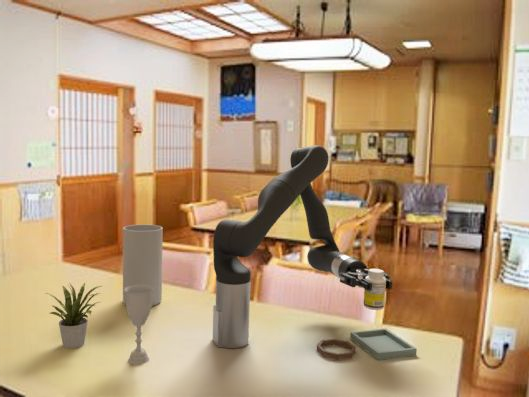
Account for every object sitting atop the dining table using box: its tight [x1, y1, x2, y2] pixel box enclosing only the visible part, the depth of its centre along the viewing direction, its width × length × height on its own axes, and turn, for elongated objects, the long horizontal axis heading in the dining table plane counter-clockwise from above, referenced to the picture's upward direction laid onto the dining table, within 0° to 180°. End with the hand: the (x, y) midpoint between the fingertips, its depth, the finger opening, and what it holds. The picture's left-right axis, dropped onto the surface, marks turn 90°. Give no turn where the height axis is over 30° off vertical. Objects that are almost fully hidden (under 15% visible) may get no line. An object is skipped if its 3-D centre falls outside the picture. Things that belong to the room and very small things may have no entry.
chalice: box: [125, 284, 154, 365], centre depth 120 cm, size 7×7×18 cm
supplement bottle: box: [363, 268, 387, 311], centre depth 133 cm, size 6×6×10 cm
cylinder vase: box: [122, 224, 164, 307], centre depth 163 cm, size 12×12×25 cm
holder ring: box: [316, 338, 357, 361], centre depth 130 cm, size 10×10×2 cm
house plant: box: [45, 282, 102, 349], centre depth 128 cm, size 14×14×16 cm
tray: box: [349, 328, 418, 361], centre depth 135 cm, size 12×15×2 cm
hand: (380, 286), depth 130 cm, fingers closed on supplement bottle, 5 cm apart
